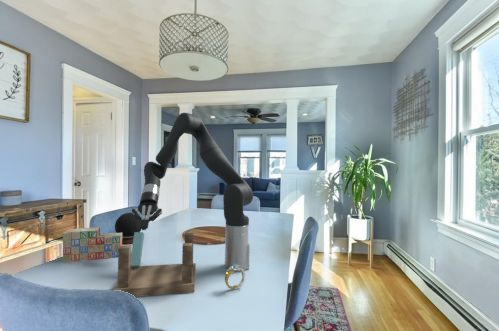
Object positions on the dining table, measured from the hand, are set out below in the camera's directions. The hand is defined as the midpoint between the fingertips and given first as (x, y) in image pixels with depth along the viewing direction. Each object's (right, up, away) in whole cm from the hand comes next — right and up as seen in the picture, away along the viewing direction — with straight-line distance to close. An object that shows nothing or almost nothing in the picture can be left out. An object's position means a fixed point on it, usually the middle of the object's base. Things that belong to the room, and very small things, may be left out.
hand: (143, 229), depth 106 cm
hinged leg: (+2, -10, -13) cm, 17 cm away
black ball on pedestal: (-19, -14, +28) cm, 37 cm away
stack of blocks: (-23, -14, +5) cm, 27 cm away
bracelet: (+39, -14, -22) cm, 47 cm away
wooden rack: (+13, -14, -18) cm, 26 cm away
